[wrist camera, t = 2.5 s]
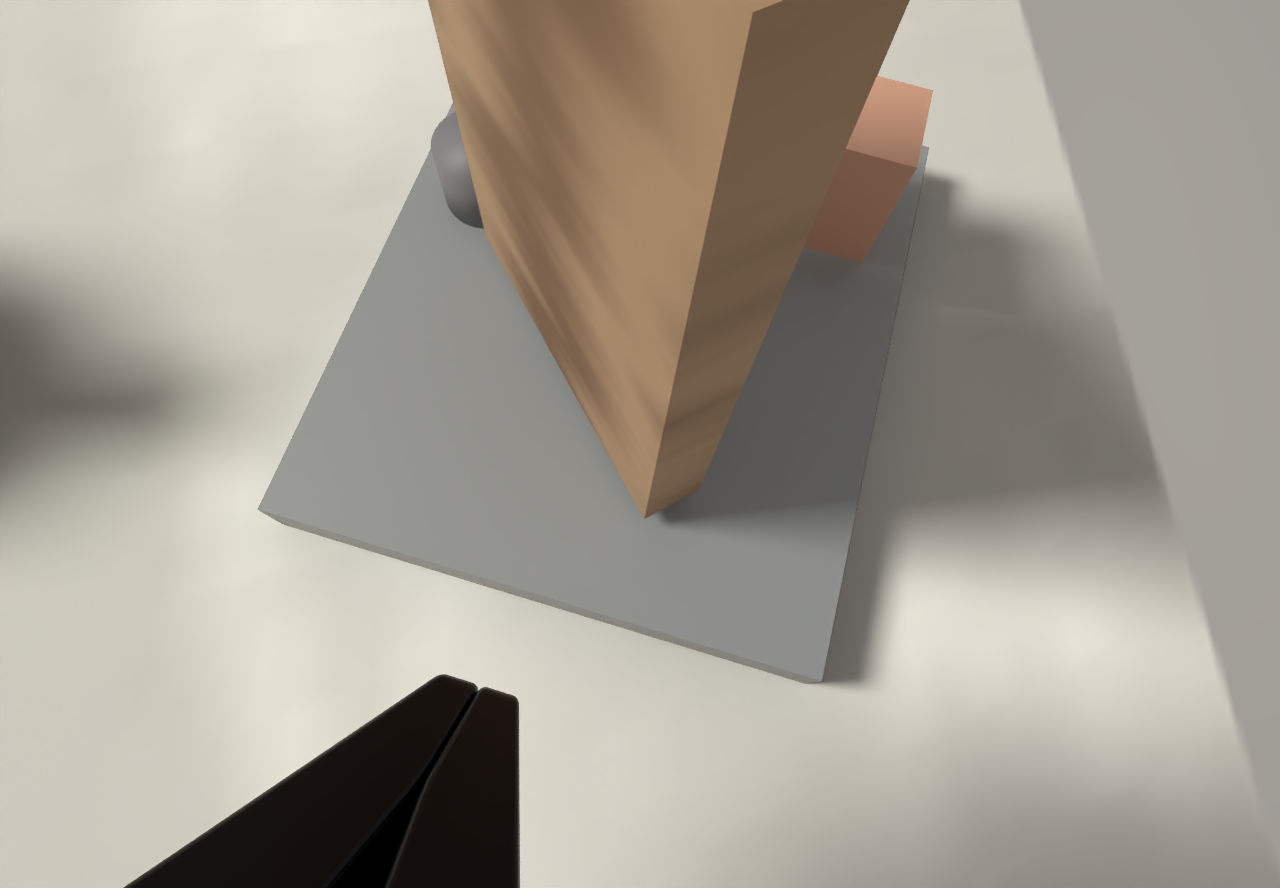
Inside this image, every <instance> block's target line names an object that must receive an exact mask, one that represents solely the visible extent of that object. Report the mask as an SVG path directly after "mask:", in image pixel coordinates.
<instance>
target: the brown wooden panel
mask: <svg viewBox="0 0 1280 888" xmlns="http://www.w3.org/2000/svg"><path fill="white" fill-rule="evenodd" d="M428 1H429V5H430V10H431V14H432V18H433V22H434V26H435V30H436V34H437V38H438V42H439V46H440V50H441V54H442V59H443V63H444V67H445V71H446V75H447V79H448V83H449V87H450V91H451V95H452V99H453V103H454V108H455V112H456V116H457V120H458V124H459V128H460V132H461V136H462V140H463V144H464V148H465V152H466V157H467V161H468V165H469V169H470V173H471V177H472V181H473V185H474V189H475V193H476V197H477V201H478V206H479V210H480V214H481V218H482V222H483V226H484V230H485V234H486V237H487V239H488V240H489V242H490V244H491V246H492V248H493V249H494V251H495V253H496V255H497V257H498V258H499V260H500V262H501V264H502V266H503V267H504V269H505V271H506V273H507V274H508V276H509V278H510V280H511V282H512V283H513V285H514V287H515V289H516V291H517V292H518V294H519V296H520V298H521V300H522V301H523V303H524V305H525V307H526V309H527V310H528V312H529V314H530V316H531V317H532V319H533V321H534V323H535V325H536V326H537V328H538V330H539V332H540V334H541V335H542V337H543V339H544V341H545V343H546V344H547V346H548V348H549V350H550V352H551V353H552V355H553V357H554V359H555V360H556V362H557V364H558V366H559V368H560V369H561V371H562V373H563V375H564V377H565V378H566V380H567V382H568V384H569V386H570V387H571V389H572V391H573V393H574V394H575V396H576V398H577V400H578V402H579V403H580V405H581V407H582V409H583V411H584V412H585V414H586V416H587V418H588V420H589V421H590V423H591V425H592V427H593V429H594V430H595V432H596V434H597V436H598V437H599V439H600V441H601V443H602V445H603V446H604V448H605V450H606V452H607V454H608V455H609V457H610V459H611V461H612V463H613V464H614V466H615V468H616V470H617V471H618V473H619V475H620V477H621V479H622V480H623V482H624V484H625V486H626V488H627V489H628V491H629V493H630V495H631V497H632V498H633V500H634V502H635V504H636V506H637V507H638V509H639V511H640V513H641V514H642V516H643V518H644V519H646V518H648V517H649V516H651V515H653V514H655V513H657V512H659V511H661V510H663V509H665V508H667V507H669V506H670V505H672V504H674V503H676V502H678V501H680V500H682V499H684V498H686V497H688V496H690V495H691V494H693V493H695V492H697V491H698V490H699V488H700V486H701V483H702V481H703V479H704V476H705V474H706V472H707V469H708V467H709V465H710V462H711V460H712V458H713V456H714V453H715V451H716V449H717V446H718V444H719V442H720V439H721V437H722V435H723V432H724V430H725V428H726V425H727V423H728V421H729V418H730V416H731V414H732V411H733V409H734V407H735V404H736V402H737V400H738V397H739V395H740V393H741V390H742V388H743V386H744V384H745V381H746V379H747V377H748V374H749V372H750V370H751V367H752V365H753V363H754V360H755V358H756V356H757V353H758V351H759V349H760V346H761V344H762V342H763V339H764V337H765V335H766V332H767V330H768V328H769V325H770V323H771V321H772V319H773V316H774V314H775V312H776V309H777V307H778V305H779V302H780V300H781V298H782V295H783V293H784V291H785V288H786V286H787V284H788V281H789V279H790V277H791V274H792V272H793V270H794V267H795V265H796V263H797V260H798V258H799V256H800V253H801V251H802V249H803V247H804V244H805V242H806V240H807V237H808V235H809V233H810V230H811V228H812V226H813V223H814V221H815V219H816V216H817V214H818V212H819V209H820V207H821V205H822V202H823V200H824V198H825V195H826V193H827V191H828V188H829V186H830V184H831V182H832V179H833V177H834V175H835V172H836V170H837V168H838V165H839V163H840V161H841V158H842V156H843V154H844V151H845V149H846V147H847V144H848V142H849V140H850V137H851V135H852V133H853V130H854V128H855V126H856V123H857V121H858V119H859V116H860V114H861V112H862V110H863V107H864V105H865V103H866V100H867V98H868V96H869V93H870V91H871V89H872V86H873V84H874V82H875V79H876V77H877V75H878V72H879V70H880V68H881V65H882V63H883V61H884V58H885V56H886V54H887V51H888V49H889V47H890V45H891V42H892V40H893V38H894V35H895V33H896V31H897V28H898V26H899V24H900V21H901V19H902V17H903V14H904V12H905V10H906V7H907V5H908V3H909V0H428Z"/></svg>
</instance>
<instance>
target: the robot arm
mask: <svg viewBox="0 0 1280 888" xmlns="http://www.w3.org/2000/svg"><path fill="white" fill-rule="evenodd" d="M124 888H520V824H519V702H518V699H517V698H516V697H515V696H513V695H510V694H506V693H503V692H500V691H497V690H494V689H490V688H487V687H484V688H481V689H480V690H479V691H478V688H477V686H476V685H475V684H474V683H471V682H468V681H465V680H462V679H458V678H455V677H452V676H449V675H444V674H443V675H439V676H436V677H434V678H433V679H431V680H430V681H428V682H427V683H426V684H424V685H423V686H421V687H420V688H418V689H417V690H415V691H414V692H412V693H411V694H409V695H408V696H406V697H405V698H403V699H402V700H400V701H399V702H397V703H396V704H394V705H393V706H391V707H390V708H389V709H387V710H386V711H384V712H383V713H381V714H380V715H378V716H377V717H375V718H374V719H372V720H371V721H369V722H368V723H366V724H365V725H363V726H362V727H360V728H359V729H357V730H356V731H354V732H353V733H352V734H350V735H349V736H347V737H346V738H344V739H343V740H341V741H340V742H338V743H337V744H335V745H334V746H332V747H331V748H329V749H328V750H326V751H325V752H323V753H322V754H320V755H319V756H318V757H316V758H315V759H313V760H312V761H310V762H309V763H307V764H306V765H304V766H303V767H301V768H300V769H298V770H297V771H295V772H294V773H292V774H291V775H289V776H288V777H286V778H285V779H283V780H282V781H281V782H279V783H278V784H276V785H275V786H273V787H272V788H270V789H269V790H267V791H266V792H264V793H263V794H261V795H260V796H258V797H257V798H255V799H254V800H252V801H251V802H249V803H248V804H246V805H245V806H244V807H242V808H241V809H239V810H238V811H236V812H235V813H233V814H232V815H230V816H229V817H227V818H226V819H224V820H223V821H221V822H220V823H218V824H217V825H215V826H214V827H212V828H211V829H209V830H208V831H207V832H205V833H204V834H202V835H201V836H199V837H198V838H196V839H195V840H193V841H192V842H190V843H189V844H187V845H186V846H184V847H183V848H181V849H180V850H178V851H177V852H175V853H174V854H173V855H171V856H170V857H168V858H167V859H165V860H164V861H162V862H161V863H159V864H158V865H156V866H155V867H153V868H152V869H150V870H149V871H147V872H146V873H144V874H143V875H141V876H140V877H138V878H137V879H136V880H134V881H133V882H131V883H130V884H128V885H127V886H125V887H124Z"/></svg>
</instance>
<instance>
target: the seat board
mask: <svg viewBox="0 0 1280 888" xmlns="http://www.w3.org/2000/svg"><path fill="white" fill-rule="evenodd" d="M932 92H933V90H929V89H925V88H922V87H918V86H914V85H910V84H906V83H902V82H899V81H895V80H891V79H887V78H883V77H879V76H877V77H876V79H875V82H874V84H873V86H872V89H871V91H870V93H869V96H868V98H867V100H866V103H865V105H864V107H863V110H862V112H861V114H860V116H859V119H858V121H857V123H856V126H855V128H854V130H853V133H852V135H851V137H850V140H849V142H848V144H847V147H846V149H845V151H844V154H843V156H842V158H841V161H840V163H839V165H838V168H837V170H836V172H835V175H834V177H833V179H832V182H831V184H830V186H829V188H828V191H827V193H826V195H825V198H824V200H823V202H822V205H821V207H820V209H819V212H818V214H817V216H816V219H815V221H814V223H813V226H812V228H811V230H810V233H809V235H808V237H807V240H806V242H805V244H804V247H803V249H802V251H801V253H800V256H799V258H798V260H797V263H796V265H795V267H794V270H793V272H792V274H791V277H790V279H789V281H788V284H787V286H786V288H785V291H784V293H783V295H782V298H781V300H780V302H779V305H778V307H777V309H776V312H775V314H774V316H773V319H772V321H771V323H770V325H769V328H768V330H767V332H766V335H765V337H764V339H763V342H762V344H761V346H760V349H759V351H758V353H757V356H756V358H755V360H754V363H753V365H752V367H751V370H750V372H749V374H748V377H747V379H746V381H745V384H744V386H743V388H742V390H741V393H740V395H739V397H738V400H737V402H736V404H735V407H734V409H733V411H732V414H731V416H730V418H729V421H728V423H727V425H726V428H725V430H724V432H723V435H722V437H721V439H720V442H719V444H718V446H717V449H716V451H715V453H714V456H713V458H712V460H711V462H710V465H709V467H708V469H707V472H706V474H705V476H704V479H703V481H702V483H701V486H700V488H699V490H698V491H697V492H695V493H693V494H691V495H690V496H688V497H686V498H684V499H682V500H680V501H678V502H676V503H674V504H672V505H670V506H669V507H667V508H665V509H663V510H661V511H659V512H657V513H655V514H653V515H651V516H649V517H648V518H646V519H644V518H643V516H642V514H641V513H640V511H639V509H638V507H637V506H636V504H635V502H634V500H633V498H632V497H631V495H630V493H629V491H628V489H627V488H626V486H625V484H624V482H623V480H622V479H621V477H620V475H619V473H618V471H617V470H616V468H615V466H614V464H613V463H612V461H611V459H610V457H609V455H608V454H607V452H606V450H605V448H604V446H603V445H602V443H601V441H600V439H599V437H598V436H597V434H596V432H595V430H594V429H593V427H592V425H591V423H590V421H589V420H588V418H587V416H586V414H585V412H584V411H583V409H582V407H581V405H580V403H579V402H578V400H577V398H576V396H575V394H574V393H573V391H572V389H571V387H570V386H569V384H568V382H567V380H566V378H565V377H564V375H563V373H562V371H561V369H560V368H559V366H558V364H557V362H556V360H555V359H554V357H553V355H552V353H551V352H550V350H549V348H548V346H547V344H546V343H545V341H544V339H543V337H542V335H541V334H540V332H539V330H538V328H537V326H536V325H535V323H534V321H533V319H532V317H531V316H530V314H529V312H528V310H527V309H526V307H525V305H524V303H523V301H522V300H521V298H520V296H519V294H518V292H517V291H516V289H515V287H514V285H513V283H512V282H511V280H510V278H509V276H508V274H507V273H506V271H505V269H504V267H503V266H502V264H501V262H500V260H499V258H498V257H497V255H496V253H495V251H494V249H493V248H492V246H491V244H490V242H489V240H488V239H487V237H486V234H485V230H484V226H483V222H482V218H481V214H480V210H479V206H478V201H477V197H476V193H475V189H474V185H473V181H472V177H471V173H470V169H469V165H468V161H467V157H466V152H465V148H464V144H463V140H462V136H461V132H460V128H459V124H458V120H457V116H456V112H455V108H454V103H453V104H452V106H451V108H450V110H449V112H448V114H447V116H446V118H445V119H444V120H443V121H441V122H440V124H439V125H438V126H437V127H436V129H435V131H434V133H433V136H432V140H431V150H430V152H429V154H428V156H427V158H426V160H425V162H424V164H423V166H422V168H421V170H420V173H419V175H418V177H417V179H416V181H415V183H414V185H413V187H412V189H411V191H410V193H409V195H408V198H407V200H406V202H405V204H404V206H403V208H402V210H401V212H400V214H399V216H398V218H397V220H396V222H395V225H394V227H393V229H392V231H391V233H390V235H389V237H388V239H387V241H386V243H385V245H384V247H383V250H382V252H381V254H380V256H379V258H378V260H377V262H376V264H375V266H374V268H373V270H372V272H371V274H370V277H369V279H368V281H367V283H366V285H365V287H364V289H363V291H362V293H361V295H360V297H359V299H358V302H357V304H356V306H355V308H354V310H353V312H352V314H351V316H350V318H349V320H348V322H347V324H346V327H345V329H344V331H343V333H342V335H341V337H340V339H339V341H338V343H337V345H336V347H335V349H334V351H333V354H332V356H331V358H330V360H329V362H328V364H327V366H326V368H325V370H324V372H323V374H322V376H321V379H320V381H319V383H318V385H317V387H316V389H315V391H314V393H313V395H312V397H311V399H310V401H309V404H308V406H307V408H306V410H305V412H304V414H303V416H302V418H301V420H300V422H299V424H298V426H297V428H296V431H295V433H294V435H293V437H292V439H291V441H290V443H289V445H288V447H287V449H286V451H285V453H284V456H283V458H282V460H281V462H280V464H279V466H278V468H277V470H276V472H275V474H274V476H273V478H272V481H271V483H270V485H269V487H268V489H267V491H266V493H265V495H264V497H263V499H262V501H261V503H260V505H259V508H258V510H259V511H261V512H263V513H264V514H266V515H268V516H270V517H271V518H273V519H275V520H276V521H278V522H280V523H281V524H284V525H287V526H291V527H294V528H297V529H300V530H304V531H307V532H310V533H313V534H317V535H320V536H323V537H327V538H330V539H333V540H336V541H340V542H343V543H346V544H350V545H353V546H356V547H359V548H363V549H366V550H369V551H372V552H376V553H379V554H382V555H386V556H389V557H392V558H395V559H399V560H402V561H405V562H409V563H412V564H415V565H418V566H422V567H425V568H428V569H432V570H435V571H438V572H441V573H445V574H448V575H451V576H454V577H458V578H461V579H464V580H468V581H471V582H474V583H477V584H481V585H484V586H487V587H491V588H494V589H497V590H500V591H504V592H507V593H510V594H513V595H517V596H520V597H523V598H527V599H530V600H533V601H536V602H540V603H543V604H546V605H550V606H553V607H556V608H559V609H563V610H566V611H569V612H573V613H576V614H579V615H582V616H586V617H589V618H592V619H595V620H599V621H602V622H605V623H609V624H612V625H615V626H618V627H622V628H625V629H628V630H632V631H635V632H638V633H641V634H645V635H648V636H651V637H654V638H658V639H661V640H664V641H668V642H671V643H674V644H677V645H681V646H684V647H687V648H691V649H694V650H697V651H700V652H704V653H707V654H710V655H713V656H717V657H720V658H723V659H727V660H730V661H733V662H736V663H740V664H743V665H746V666H750V667H753V668H756V669H759V670H763V671H766V672H769V673H773V674H776V675H779V676H782V677H786V678H789V679H792V680H795V681H799V682H802V683H805V684H806V683H813V682H820V681H822V678H823V673H824V668H825V663H826V658H827V653H828V648H829V643H830V638H831V633H832V628H833V623H834V618H835V613H836V608H837V603H838V599H839V594H840V589H841V584H842V579H843V574H844V569H845V564H846V559H847V554H848V549H849V544H850V539H851V534H852V529H853V524H854V519H855V514H856V509H857V504H858V499H859V494H860V489H861V484H862V479H863V474H864V469H865V464H866V459H867V454H868V449H869V444H870V439H871V434H872V429H873V424H874V419H875V414H876V409H877V404H878V399H879V394H880V389H881V384H882V379H883V374H884V369H885V364H886V360H887V355H888V350H889V345H890V340H891V335H892V330H893V325H894V320H895V315H896V310H897V305H898V300H899V295H900V290H901V285H902V280H903V275H904V270H905V265H906V260H907V255H908V250H909V245H910V240H911V235H912V230H913V225H914V220H915V215H916V210H917V205H918V200H919V195H920V190H921V185H922V180H923V175H924V170H925V165H926V160H927V155H928V150H929V147H925V146H922V141H923V136H924V131H925V127H926V122H927V117H928V112H929V107H930V102H931V97H932Z"/></svg>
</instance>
